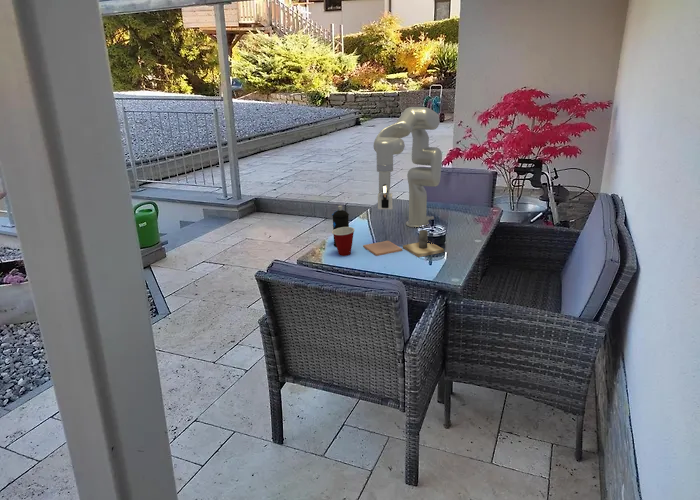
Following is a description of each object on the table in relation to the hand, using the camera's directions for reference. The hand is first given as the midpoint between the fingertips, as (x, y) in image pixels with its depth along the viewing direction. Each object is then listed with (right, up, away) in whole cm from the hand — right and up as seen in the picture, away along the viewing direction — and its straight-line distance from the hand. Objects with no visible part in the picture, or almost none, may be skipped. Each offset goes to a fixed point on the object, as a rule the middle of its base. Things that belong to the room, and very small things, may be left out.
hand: (385, 205), depth 237 cm
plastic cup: (-19, -23, +3) cm, 30 cm away
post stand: (+18, -21, +4) cm, 28 cm away
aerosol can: (-21, -19, +15) cm, 32 cm away
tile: (-1, -20, +8) cm, 22 cm away
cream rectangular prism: (0, -1, 0) cm, 1 cm away
